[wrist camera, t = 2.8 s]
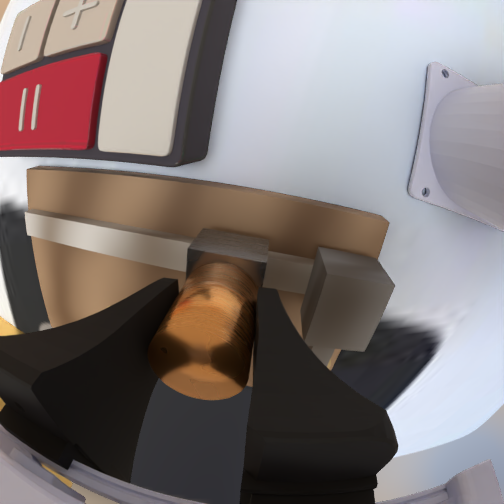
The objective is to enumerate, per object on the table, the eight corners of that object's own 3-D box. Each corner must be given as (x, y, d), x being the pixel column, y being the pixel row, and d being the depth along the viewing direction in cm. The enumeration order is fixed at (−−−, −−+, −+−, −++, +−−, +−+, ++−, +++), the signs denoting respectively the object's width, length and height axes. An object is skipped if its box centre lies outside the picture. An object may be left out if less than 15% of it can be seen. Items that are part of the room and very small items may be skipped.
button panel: (13, 9, 6) (225, -60, 5) (51, 18, 10) (243, -18, 9) (-14, 159, 11) (173, 171, 10) (28, 149, 15) (207, 161, 14)
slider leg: (269, 234, 13) (259, 333, 7) (243, 363, 17) (226, 463, 10) (206, 223, 13) (143, 307, 7) (196, 354, 17) (163, 449, 10)
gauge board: (381, 215, 14) (419, 249, 9) (317, 382, 19) (321, 433, 15) (38, 166, 14) (-12, 181, 10) (59, 319, 19) (29, 351, 15)
